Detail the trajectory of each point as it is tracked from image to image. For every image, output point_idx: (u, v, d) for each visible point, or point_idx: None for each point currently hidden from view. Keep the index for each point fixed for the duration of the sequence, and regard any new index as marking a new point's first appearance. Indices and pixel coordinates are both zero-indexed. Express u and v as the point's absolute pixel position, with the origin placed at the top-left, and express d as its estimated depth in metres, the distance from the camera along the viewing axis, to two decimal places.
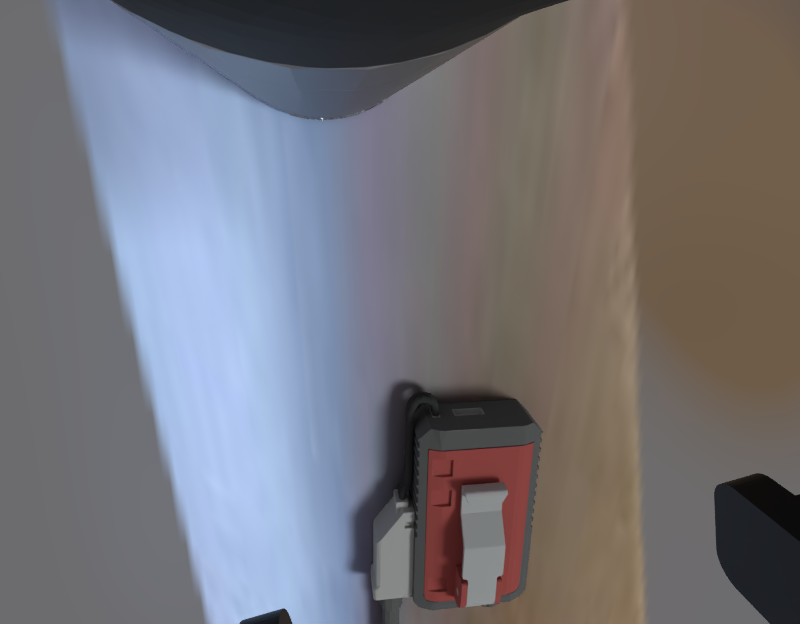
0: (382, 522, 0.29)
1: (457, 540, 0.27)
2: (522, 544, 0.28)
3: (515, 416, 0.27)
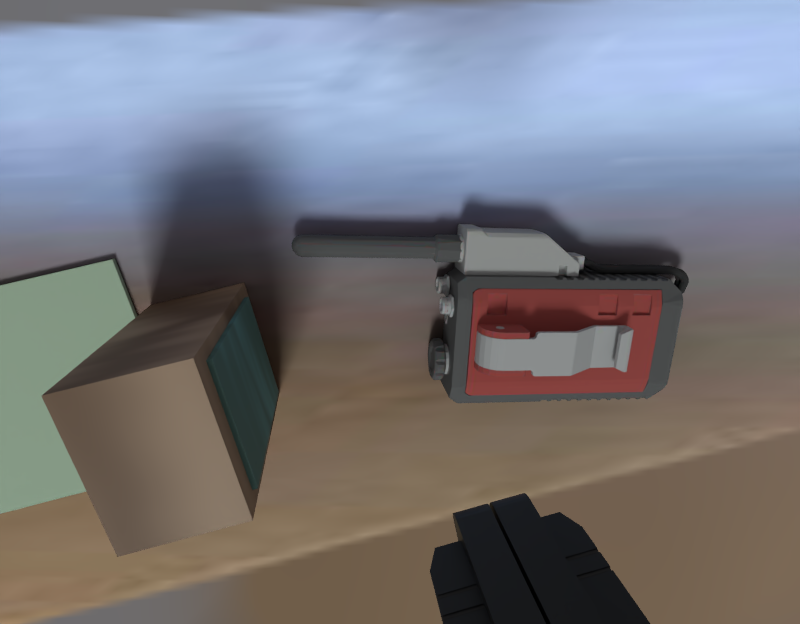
0: None
1: (553, 324, 0.25)
2: (525, 394, 0.26)
3: None
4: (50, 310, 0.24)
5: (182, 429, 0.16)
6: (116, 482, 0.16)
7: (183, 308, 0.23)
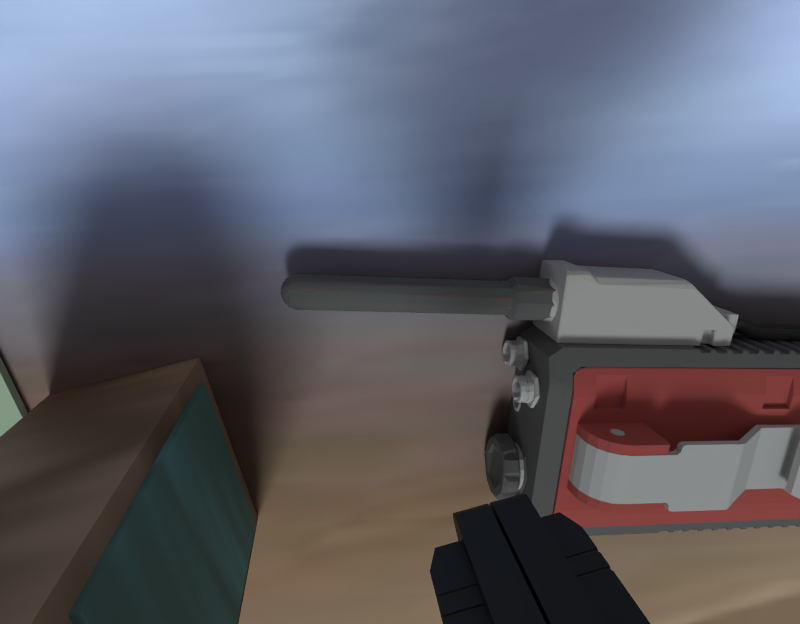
0: None
1: (693, 422, 0.16)
2: (639, 524, 0.17)
3: None
4: None
5: None
6: None
7: (88, 415, 0.13)
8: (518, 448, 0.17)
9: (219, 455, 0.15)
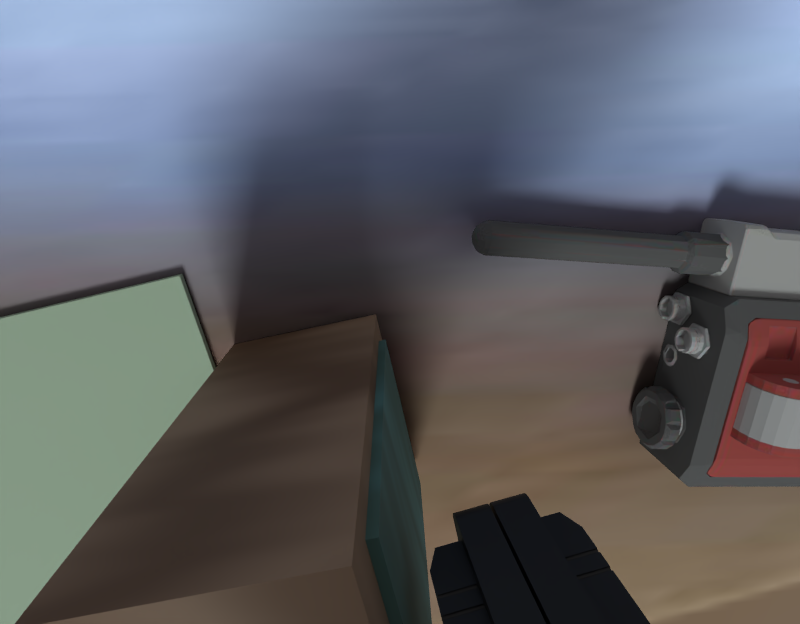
0: None
1: None
2: (788, 476, 0.17)
3: None
4: (81, 355, 0.15)
5: None
6: None
7: (288, 363, 0.14)
8: None
9: (399, 411, 0.15)
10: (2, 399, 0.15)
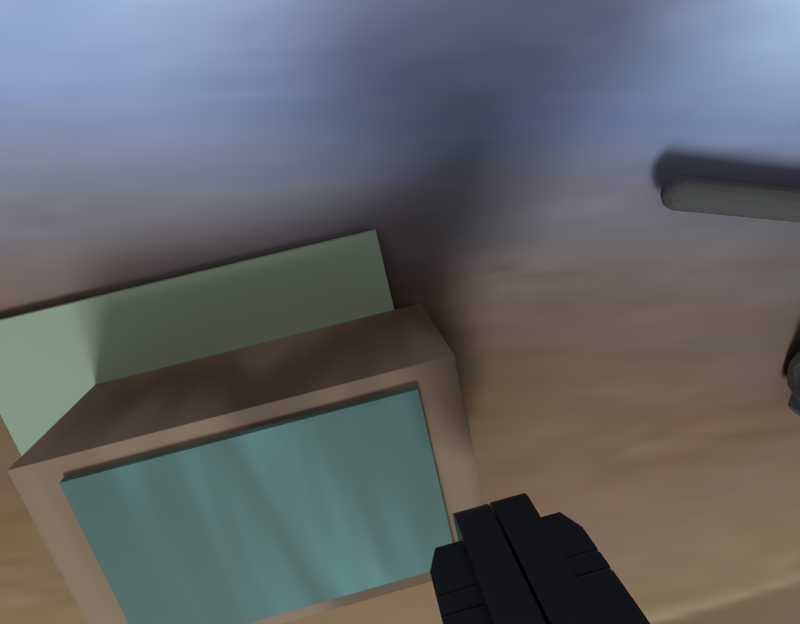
0: None
1: None
2: None
3: None
4: (276, 308, 0.16)
5: None
6: None
7: (341, 349, 0.14)
8: None
9: (398, 470, 0.12)
10: (198, 352, 0.16)
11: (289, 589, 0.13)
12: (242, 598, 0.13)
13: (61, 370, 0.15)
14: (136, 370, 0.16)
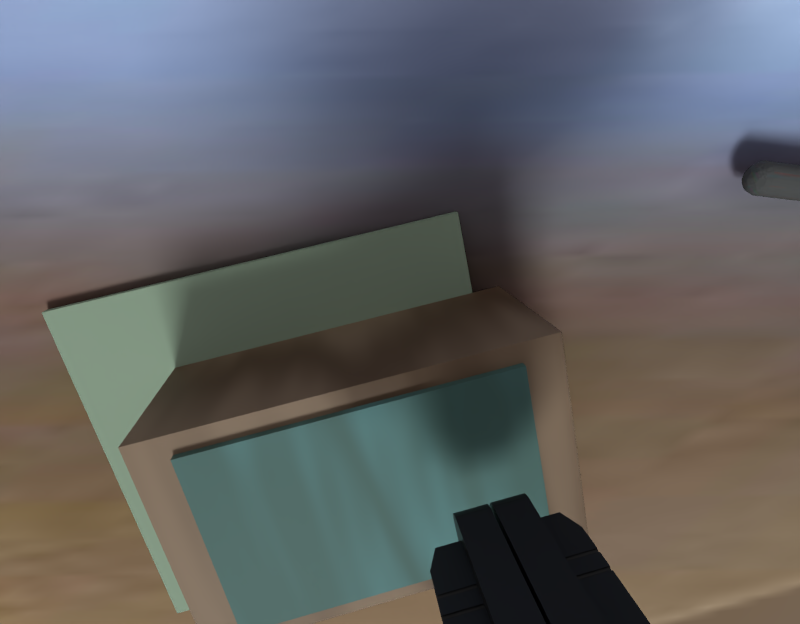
0: None
1: None
2: None
3: None
4: (356, 291, 0.16)
5: None
6: None
7: (432, 329, 0.14)
8: None
9: (502, 448, 0.12)
10: (278, 335, 0.16)
11: (388, 569, 0.13)
12: (342, 578, 0.13)
13: (142, 353, 0.15)
14: (216, 353, 0.15)
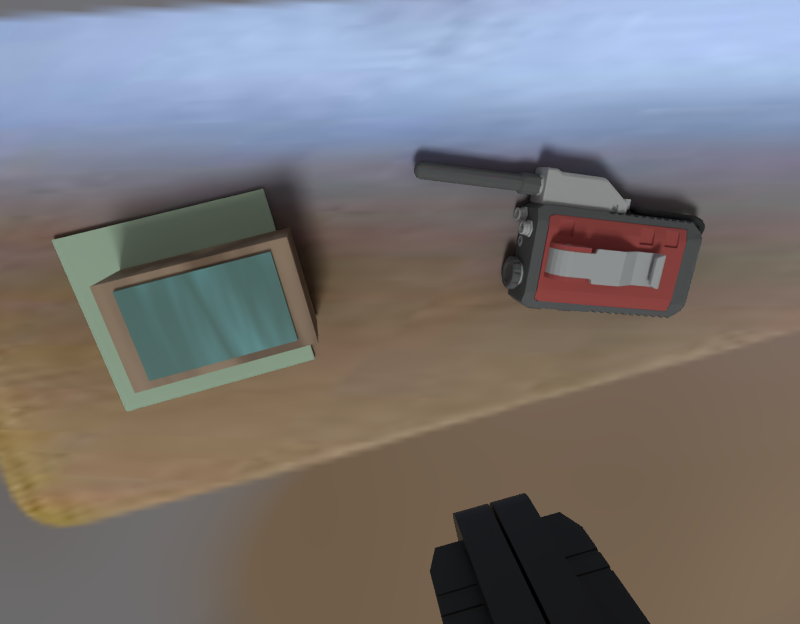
0: None
1: (605, 247, 0.32)
2: (578, 303, 0.33)
3: None
4: (213, 229, 0.31)
5: None
6: None
7: (242, 243, 0.29)
8: (520, 262, 0.33)
9: (264, 290, 0.27)
10: (173, 252, 0.31)
11: (217, 350, 0.28)
12: (195, 354, 0.28)
13: (102, 261, 0.30)
14: (141, 262, 0.30)
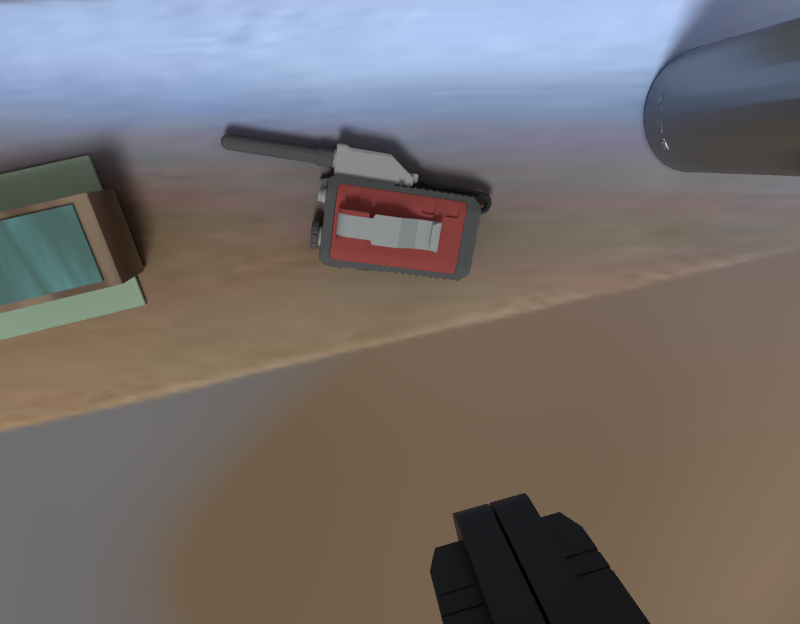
0: None
1: (390, 215, 0.38)
2: (371, 263, 0.39)
3: None
4: (46, 189, 0.36)
5: None
6: None
7: None
8: (321, 225, 0.39)
9: (69, 237, 0.33)
10: (13, 208, 0.36)
11: (33, 287, 0.33)
12: (14, 289, 0.33)
13: None
14: None
